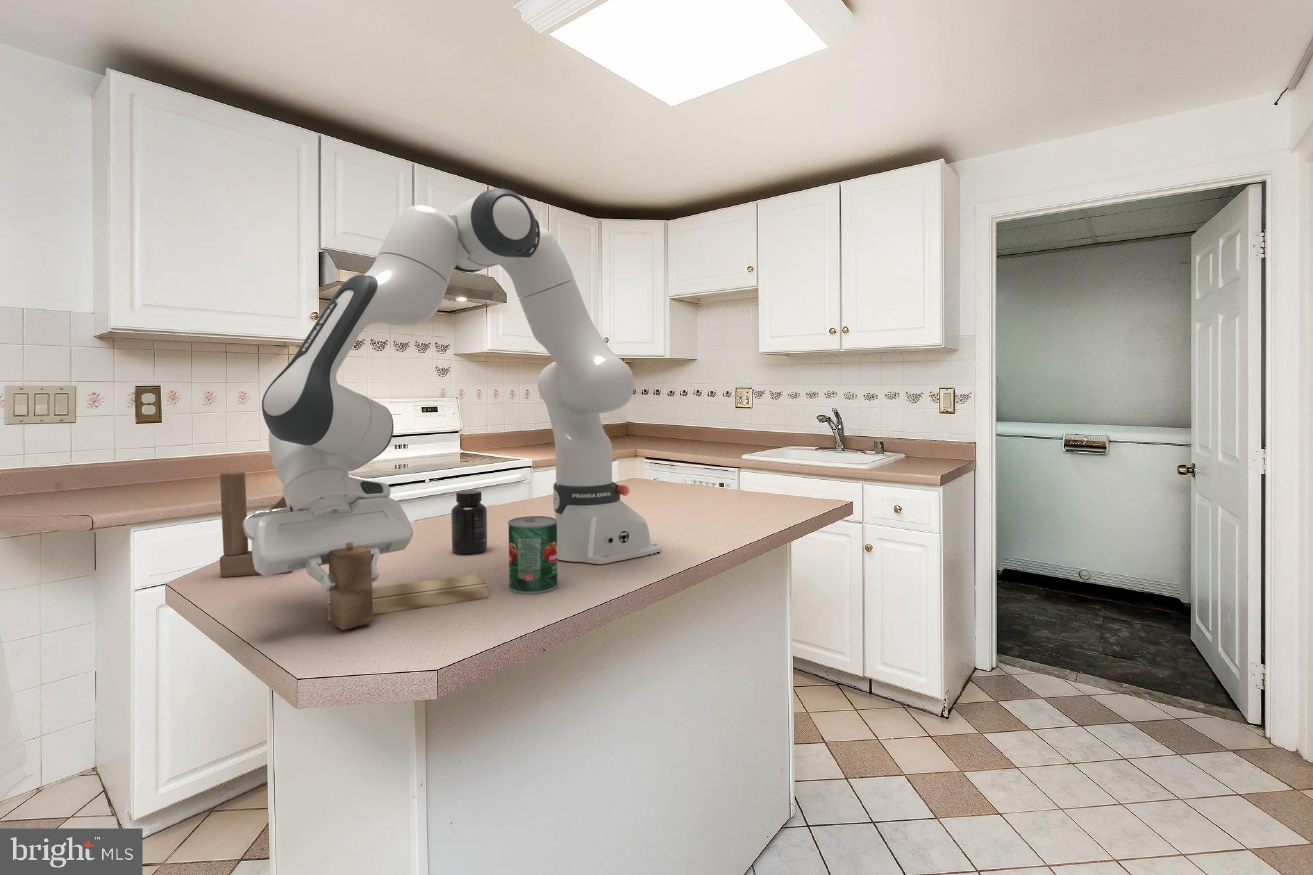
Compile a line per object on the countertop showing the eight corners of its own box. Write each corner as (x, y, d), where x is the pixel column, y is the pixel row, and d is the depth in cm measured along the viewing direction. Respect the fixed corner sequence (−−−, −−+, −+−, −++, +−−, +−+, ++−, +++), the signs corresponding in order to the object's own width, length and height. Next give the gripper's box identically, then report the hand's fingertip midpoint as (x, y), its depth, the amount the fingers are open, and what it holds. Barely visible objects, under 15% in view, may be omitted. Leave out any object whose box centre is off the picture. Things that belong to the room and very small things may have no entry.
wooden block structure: (290, 573, 109) (287, 471, 107) (219, 578, 105) (214, 473, 104) (296, 567, 112) (292, 469, 111) (227, 572, 109) (223, 471, 108)
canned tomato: (564, 589, 100) (564, 522, 100) (517, 597, 96) (516, 527, 96) (548, 576, 107) (547, 514, 106) (503, 583, 103) (502, 518, 103)
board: (479, 586, 102) (478, 573, 102) (487, 597, 96) (487, 584, 96) (328, 606, 92) (327, 592, 91) (327, 621, 86) (327, 606, 86)
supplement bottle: (485, 545, 129) (484, 488, 128) (489, 553, 123) (488, 493, 122) (450, 548, 126) (449, 490, 125) (453, 556, 120) (452, 495, 119)
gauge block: (360, 614, 87) (358, 537, 86) (373, 621, 84) (370, 542, 83) (330, 622, 84) (328, 542, 83) (342, 630, 81) (339, 548, 80)
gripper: (243, 499, 80) (269, 589, 74) (398, 482, 95) (430, 556, 89) (235, 527, 83) (260, 616, 77) (386, 507, 98) (417, 580, 92)
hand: (352, 584), depth 83 cm, fingers closed on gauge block, 4 cm apart
